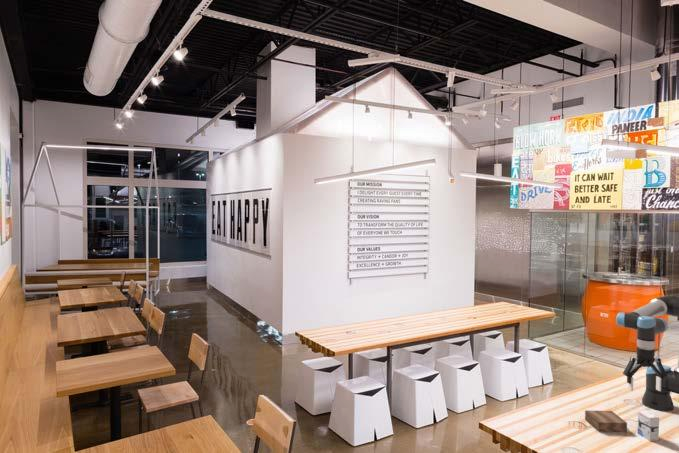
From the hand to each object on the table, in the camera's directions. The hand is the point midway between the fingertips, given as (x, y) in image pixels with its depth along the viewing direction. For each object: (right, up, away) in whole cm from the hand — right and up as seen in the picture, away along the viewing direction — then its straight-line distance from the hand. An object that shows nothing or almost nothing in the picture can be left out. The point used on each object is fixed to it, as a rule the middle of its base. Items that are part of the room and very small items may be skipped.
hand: (644, 390), depth 230 cm
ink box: (+1, -23, -1) cm, 23 cm away
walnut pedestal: (-13, -23, +11) cm, 28 cm away
